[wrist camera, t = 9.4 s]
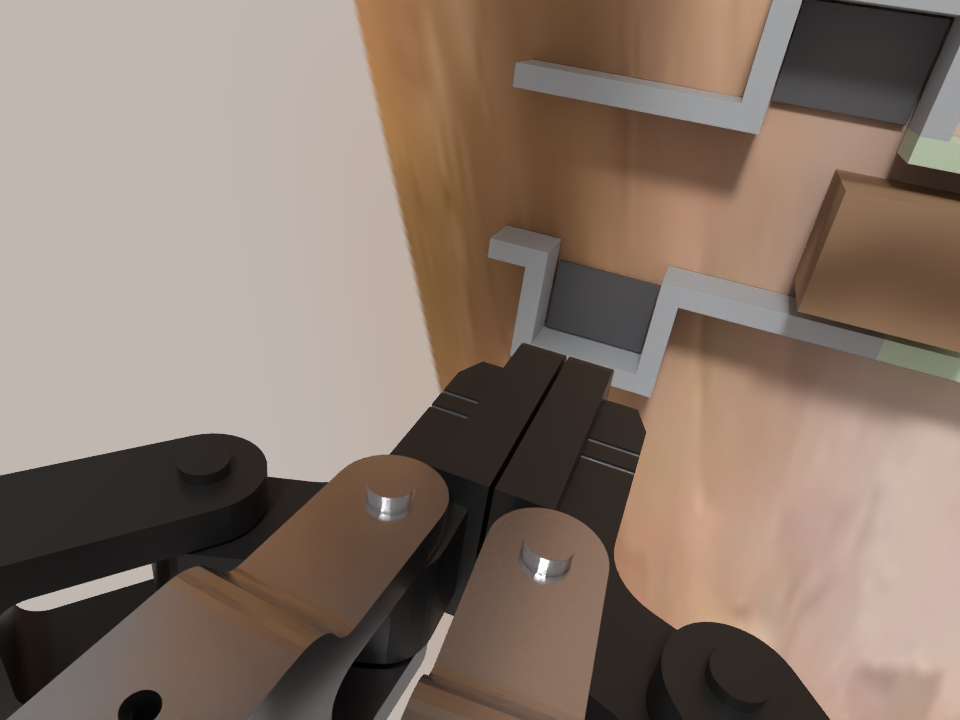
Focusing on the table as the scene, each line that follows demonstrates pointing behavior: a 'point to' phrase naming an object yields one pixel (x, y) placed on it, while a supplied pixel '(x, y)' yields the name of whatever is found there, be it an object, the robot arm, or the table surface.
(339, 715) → the robot arm
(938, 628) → the table surface
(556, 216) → the table surface
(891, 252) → the block
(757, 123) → the track
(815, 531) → the table surface
